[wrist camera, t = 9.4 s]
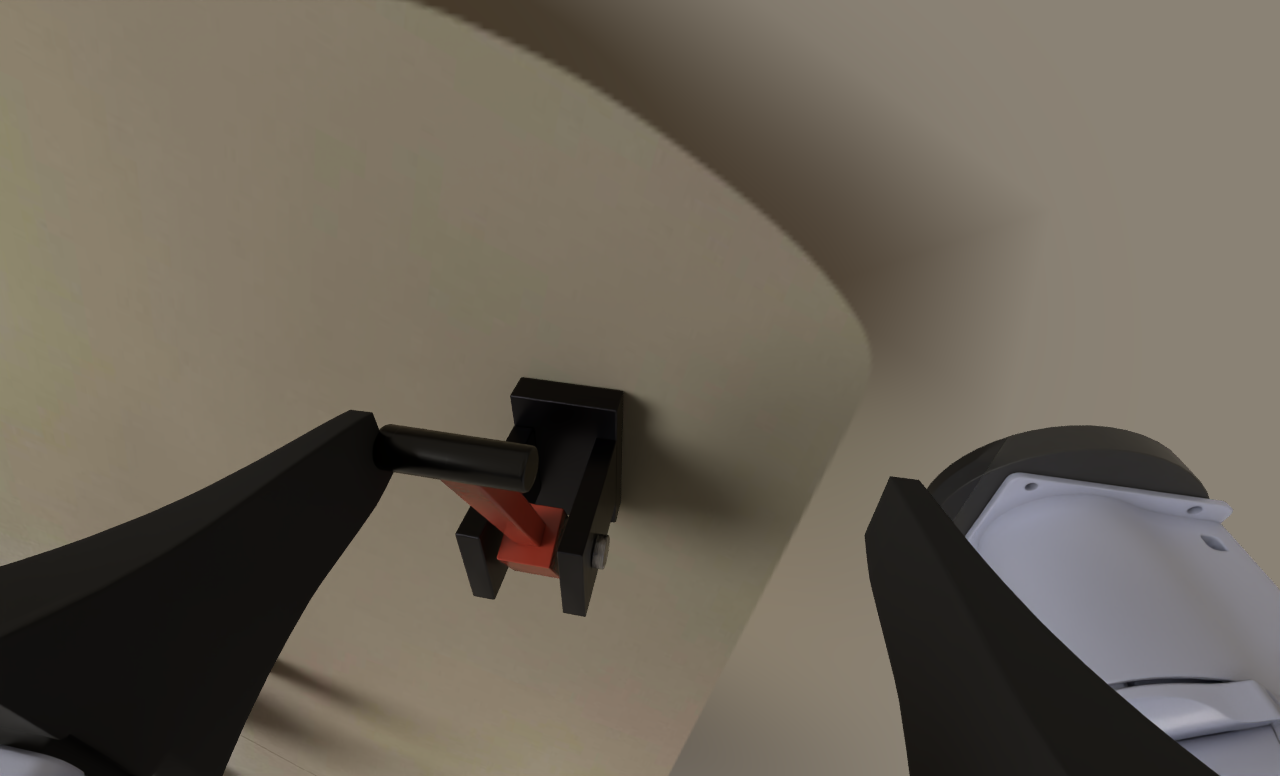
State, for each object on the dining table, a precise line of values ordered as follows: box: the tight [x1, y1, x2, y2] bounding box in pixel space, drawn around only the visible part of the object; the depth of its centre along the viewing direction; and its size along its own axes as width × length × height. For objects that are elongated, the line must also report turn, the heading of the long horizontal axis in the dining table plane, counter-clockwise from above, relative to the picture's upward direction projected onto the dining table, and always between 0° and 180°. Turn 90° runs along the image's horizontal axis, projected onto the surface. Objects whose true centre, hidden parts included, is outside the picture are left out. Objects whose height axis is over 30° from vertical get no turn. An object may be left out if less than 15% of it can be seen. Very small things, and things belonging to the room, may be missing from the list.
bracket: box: [455, 377, 623, 617], centre depth 24 cm, size 8×6×8 cm
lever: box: [372, 424, 569, 579], centre depth 18 cm, size 12×4×2 cm, turn 178°
